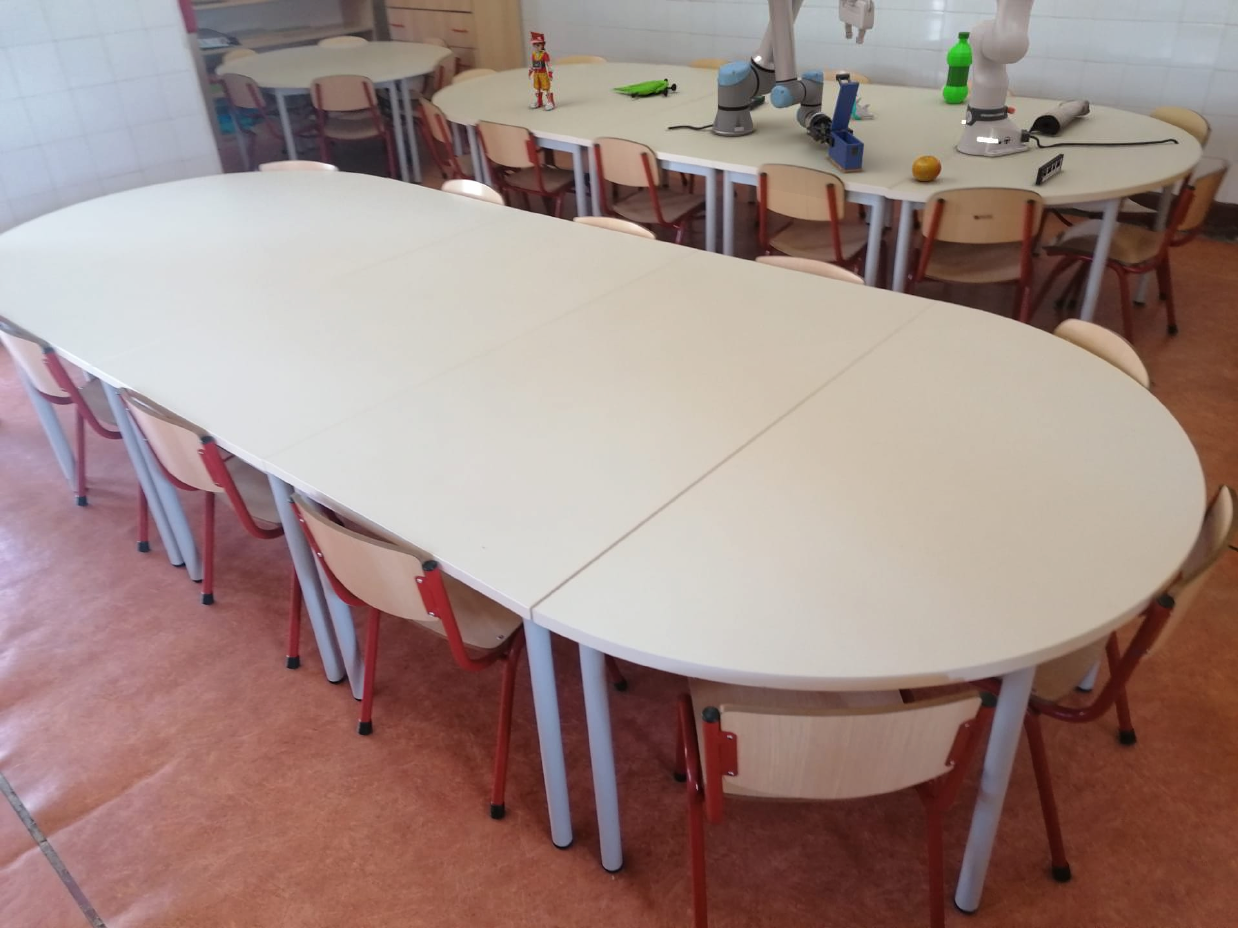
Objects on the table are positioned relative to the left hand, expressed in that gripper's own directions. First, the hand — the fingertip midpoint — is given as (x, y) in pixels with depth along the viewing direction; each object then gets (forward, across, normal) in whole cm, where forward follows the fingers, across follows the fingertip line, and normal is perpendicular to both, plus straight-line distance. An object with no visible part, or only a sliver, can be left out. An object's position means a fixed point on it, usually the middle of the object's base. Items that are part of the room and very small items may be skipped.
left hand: (842, 142), depth 296 cm
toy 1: (-113, +91, -7) cm, 145 cm away
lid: (0, 0, +11) cm, 11 cm away
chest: (+4, 0, -6) cm, 7 cm away
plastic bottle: (-60, -68, -6) cm, 91 cm away
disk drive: (-84, +10, -6) cm, 85 cm away
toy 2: (-125, +46, -7) cm, 133 cm away
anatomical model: (-54, -26, -6) cm, 60 cm away
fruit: (+27, -17, -6) cm, 33 cm away
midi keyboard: (+36, -53, -6) cm, 64 cm away
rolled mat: (-16, -87, -6) cm, 89 cm away
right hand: (+2, 0, +31) cm, 31 cm away
